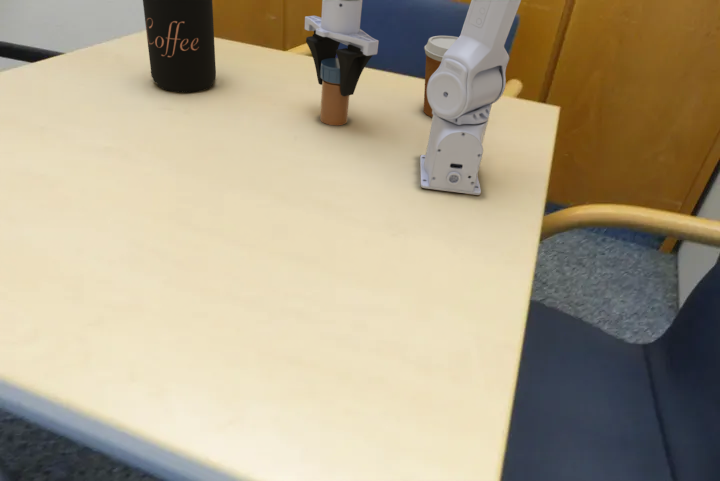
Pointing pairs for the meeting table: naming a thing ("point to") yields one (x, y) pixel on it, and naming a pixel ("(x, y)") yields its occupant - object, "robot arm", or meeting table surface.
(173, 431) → the meeting table surface
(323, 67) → the lid
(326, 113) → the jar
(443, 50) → the disposable coffee cup
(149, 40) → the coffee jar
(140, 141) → the meeting table surface
